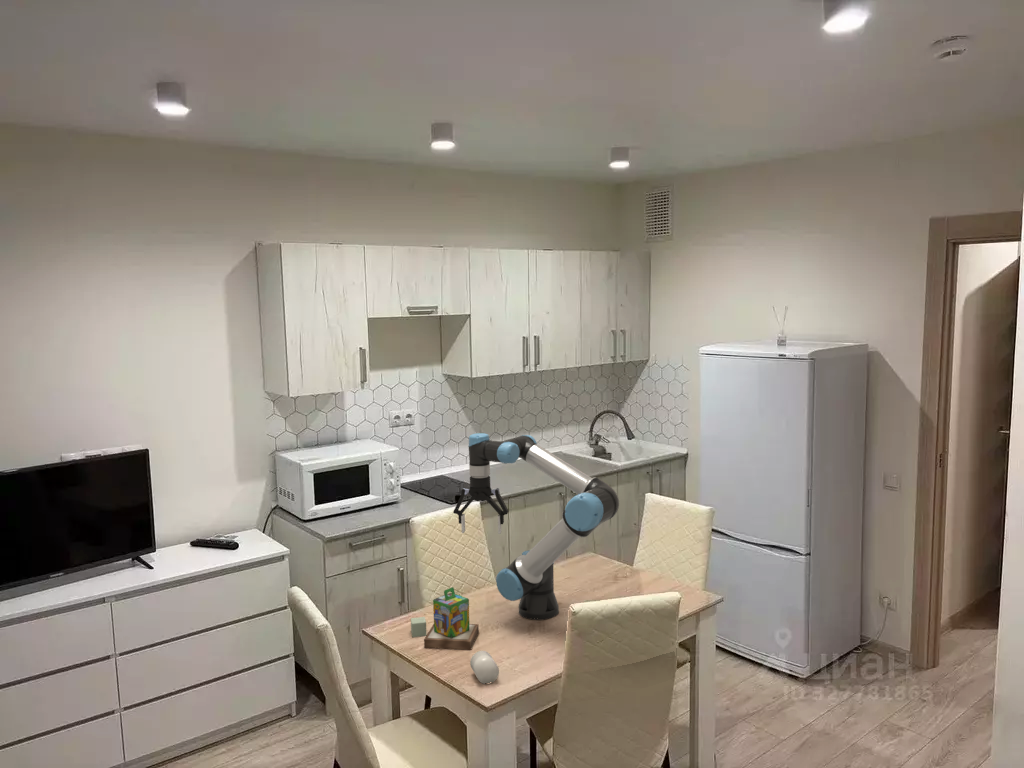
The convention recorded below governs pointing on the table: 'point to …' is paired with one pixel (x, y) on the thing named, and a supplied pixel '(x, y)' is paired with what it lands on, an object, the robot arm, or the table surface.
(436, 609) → the chalk box
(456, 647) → the podium
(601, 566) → the table surface
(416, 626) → the sage block
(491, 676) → the white rounded capsule
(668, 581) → the table surface
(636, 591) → the table surface
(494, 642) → the table surface
